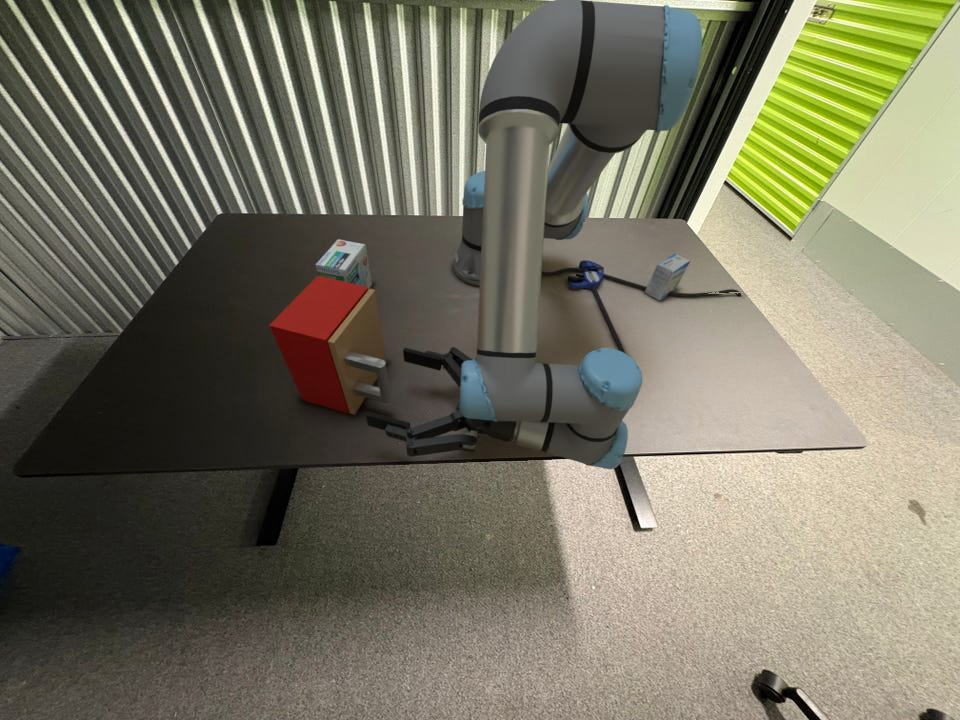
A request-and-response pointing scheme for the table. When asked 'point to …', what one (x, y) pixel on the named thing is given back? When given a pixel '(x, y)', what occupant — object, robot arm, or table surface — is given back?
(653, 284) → the medicine box
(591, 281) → the bar clamp
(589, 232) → the table surface
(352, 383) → the wooden cabinet door
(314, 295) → the cabinet
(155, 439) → the table surface
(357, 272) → the light bulb box
